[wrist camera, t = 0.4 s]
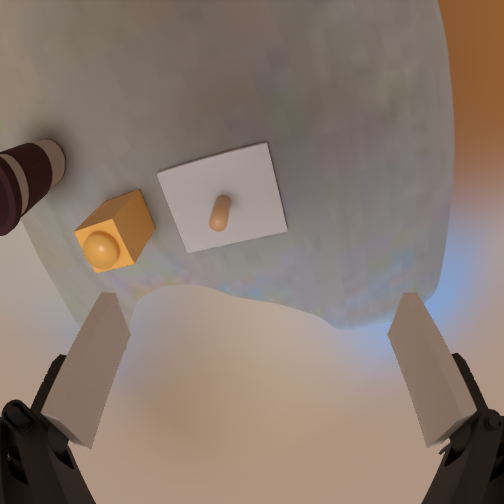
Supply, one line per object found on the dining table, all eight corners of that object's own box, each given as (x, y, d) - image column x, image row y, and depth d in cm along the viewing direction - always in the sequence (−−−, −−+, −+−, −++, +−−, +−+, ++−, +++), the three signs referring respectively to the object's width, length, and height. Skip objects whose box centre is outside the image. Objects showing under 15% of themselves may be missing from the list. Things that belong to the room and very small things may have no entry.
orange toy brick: (104, 201, 38) (68, 236, 29) (139, 189, 37) (107, 223, 28) (121, 237, 41) (92, 278, 32) (155, 227, 40) (130, 270, 31)
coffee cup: (61, 204, 38) (2, 258, 25) (19, 172, 35) (-44, 215, 22) (83, 150, 34) (13, 191, 21) (38, 118, 31) (-37, 147, 18)
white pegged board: (158, 171, 36) (140, 190, 30) (266, 141, 34) (269, 154, 28) (189, 249, 42) (178, 279, 36) (286, 227, 40) (292, 256, 34)
